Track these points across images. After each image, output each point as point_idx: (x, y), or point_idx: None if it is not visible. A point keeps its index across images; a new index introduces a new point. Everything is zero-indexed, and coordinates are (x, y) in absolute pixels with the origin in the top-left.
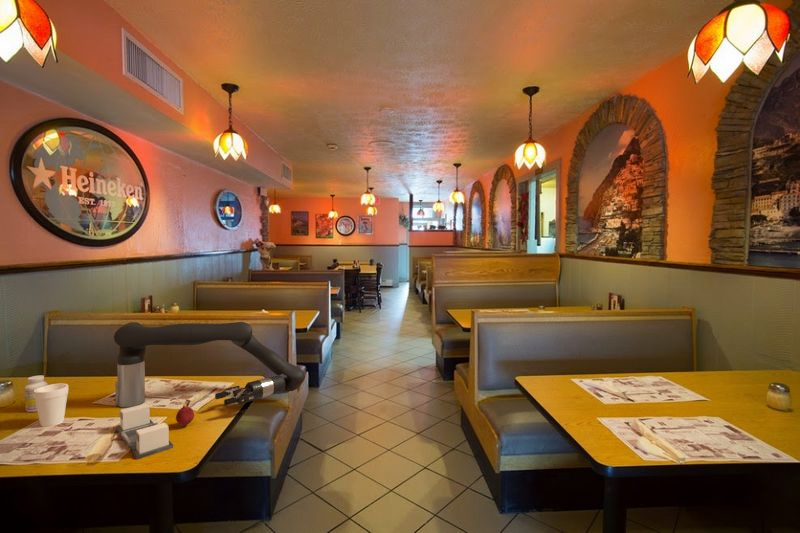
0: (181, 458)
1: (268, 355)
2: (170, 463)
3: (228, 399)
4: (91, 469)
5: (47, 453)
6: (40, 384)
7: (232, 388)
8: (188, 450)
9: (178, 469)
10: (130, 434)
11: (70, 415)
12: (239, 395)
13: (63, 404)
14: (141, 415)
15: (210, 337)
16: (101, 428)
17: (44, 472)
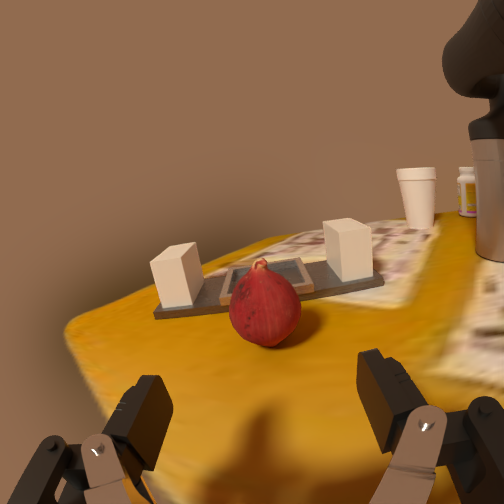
0: (101, 322)
1: None
2: (108, 312)
3: (133, 394)
4: (206, 266)
5: (306, 240)
6: (464, 177)
7: (433, 482)
8: (112, 333)
9: (81, 316)
10: (291, 270)
11: (445, 228)
12: (92, 481)
13: (415, 198)
14: (334, 248)
15: None
16: (373, 251)
17: (246, 247)
